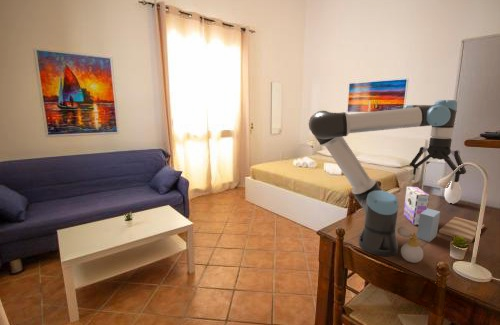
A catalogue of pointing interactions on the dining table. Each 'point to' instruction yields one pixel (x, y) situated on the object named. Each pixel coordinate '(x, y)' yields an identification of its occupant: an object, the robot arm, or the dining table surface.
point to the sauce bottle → (453, 193)
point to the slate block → (428, 224)
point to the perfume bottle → (410, 247)
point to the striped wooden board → (460, 228)
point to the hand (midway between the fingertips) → (433, 185)
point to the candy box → (415, 204)
